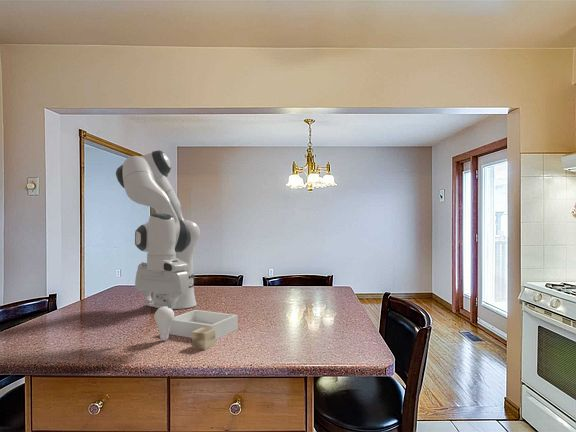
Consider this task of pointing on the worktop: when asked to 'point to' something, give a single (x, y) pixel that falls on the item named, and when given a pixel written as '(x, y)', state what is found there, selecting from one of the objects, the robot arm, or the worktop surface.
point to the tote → (203, 323)
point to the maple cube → (203, 338)
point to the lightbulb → (164, 321)
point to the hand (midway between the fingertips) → (160, 306)
